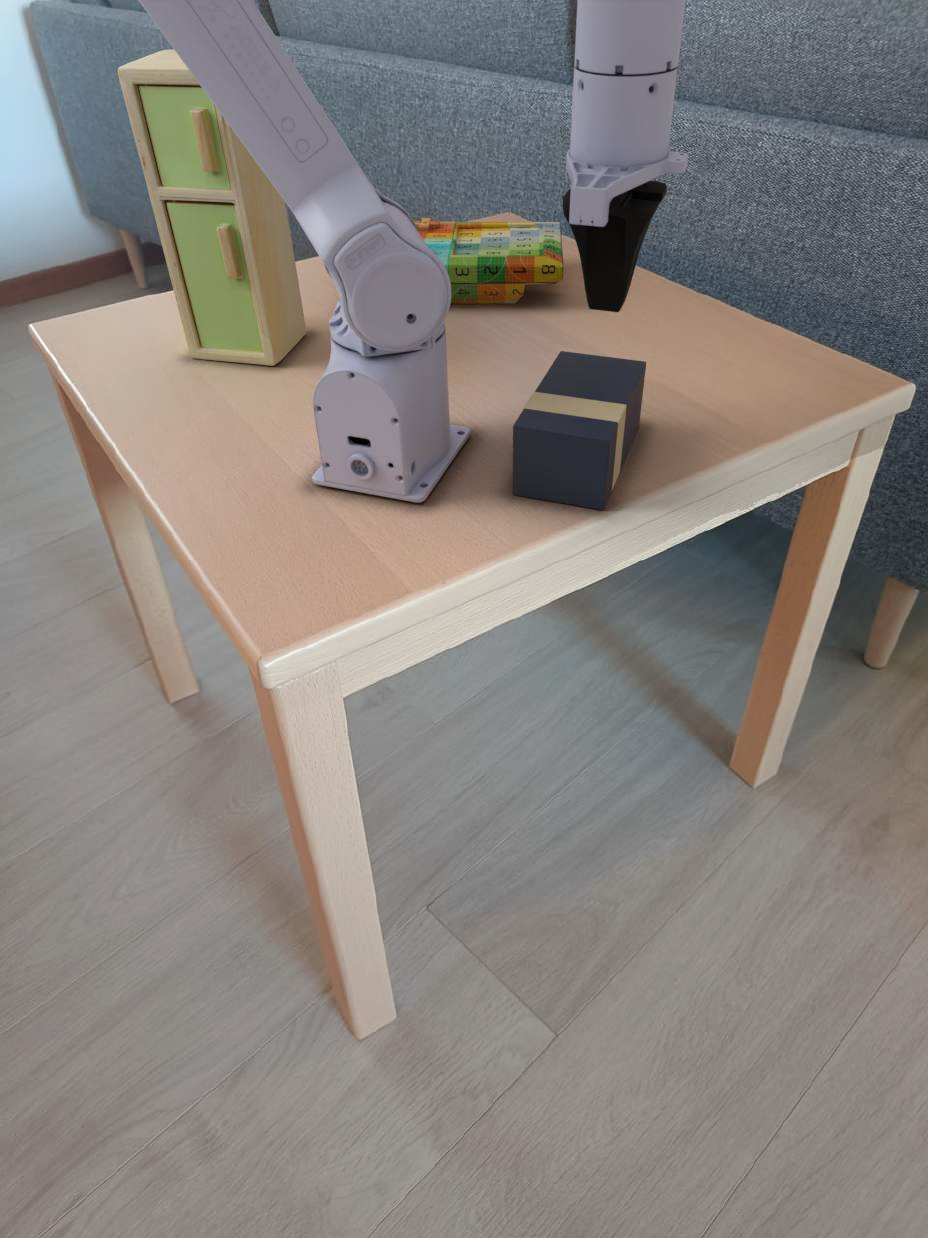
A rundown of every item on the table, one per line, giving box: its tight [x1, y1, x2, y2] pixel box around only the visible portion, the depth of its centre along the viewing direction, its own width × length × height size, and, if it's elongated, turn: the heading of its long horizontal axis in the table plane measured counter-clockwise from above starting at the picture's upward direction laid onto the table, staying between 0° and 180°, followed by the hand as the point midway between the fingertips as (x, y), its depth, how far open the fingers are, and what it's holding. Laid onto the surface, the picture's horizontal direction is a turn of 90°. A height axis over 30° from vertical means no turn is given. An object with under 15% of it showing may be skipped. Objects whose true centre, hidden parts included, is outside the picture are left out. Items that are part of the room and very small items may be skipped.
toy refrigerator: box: [117, 48, 307, 367], centre depth 68 cm, size 8×7×21 cm
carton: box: [511, 350, 647, 511], centre depth 59 cm, size 5×6×11 cm
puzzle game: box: [413, 217, 564, 305], centre depth 83 cm, size 12×5×20 cm
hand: (606, 306), depth 58 cm, fingers closed
